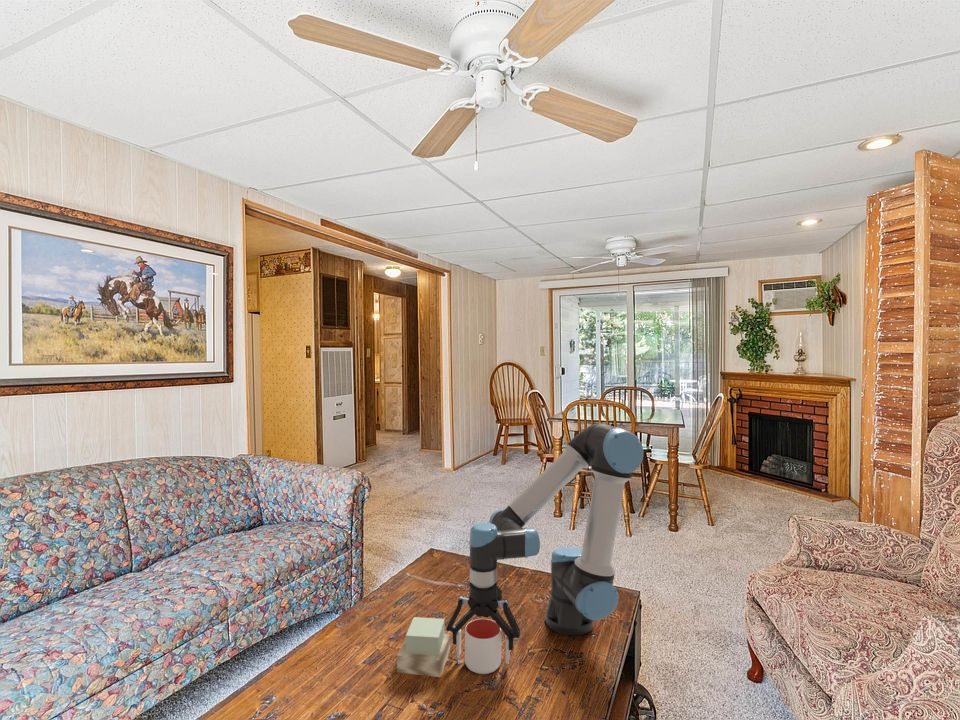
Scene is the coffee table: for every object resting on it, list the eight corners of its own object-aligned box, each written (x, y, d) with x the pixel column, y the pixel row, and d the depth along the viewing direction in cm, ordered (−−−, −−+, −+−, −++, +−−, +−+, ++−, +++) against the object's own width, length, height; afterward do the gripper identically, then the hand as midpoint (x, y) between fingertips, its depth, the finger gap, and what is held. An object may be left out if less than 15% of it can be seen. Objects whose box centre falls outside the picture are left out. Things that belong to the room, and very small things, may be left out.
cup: (497, 679, 127) (498, 641, 127) (460, 673, 129) (461, 636, 129) (503, 655, 137) (503, 620, 137) (469, 651, 139) (469, 616, 139)
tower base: (450, 651, 140) (450, 633, 140) (440, 678, 128) (440, 660, 128) (410, 646, 142) (410, 629, 142) (396, 673, 130) (396, 655, 130)
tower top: (444, 636, 139) (444, 618, 139) (438, 655, 130) (438, 637, 130) (413, 634, 140) (413, 617, 139) (405, 653, 131) (405, 635, 131)
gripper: (529, 578, 135) (529, 654, 135) (442, 571, 139) (442, 645, 139) (527, 592, 127) (527, 671, 128) (435, 584, 131) (435, 661, 132)
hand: (482, 658), depth 133 cm, fingers open, 13 cm apart
